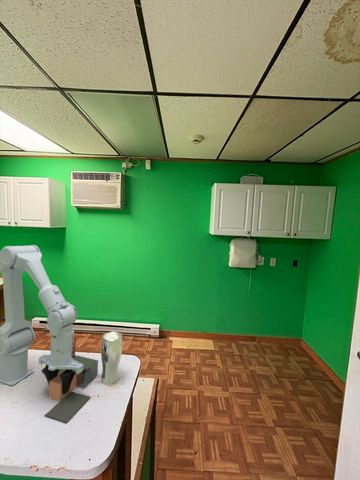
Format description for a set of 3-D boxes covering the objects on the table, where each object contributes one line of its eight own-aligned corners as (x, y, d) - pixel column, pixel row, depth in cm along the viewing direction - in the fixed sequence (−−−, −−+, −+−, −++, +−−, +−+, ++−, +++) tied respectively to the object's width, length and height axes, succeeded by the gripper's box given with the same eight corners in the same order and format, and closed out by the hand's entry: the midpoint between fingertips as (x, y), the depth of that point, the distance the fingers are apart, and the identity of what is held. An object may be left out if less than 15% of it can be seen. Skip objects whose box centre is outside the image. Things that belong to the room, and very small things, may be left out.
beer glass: (96, 384, 78) (98, 339, 77) (103, 371, 85) (105, 330, 84) (116, 386, 77) (119, 341, 77) (123, 373, 84) (125, 332, 84)
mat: (44, 416, 64) (44, 415, 64) (71, 392, 73) (71, 391, 73) (66, 423, 62) (66, 422, 62) (90, 397, 71) (90, 396, 71)
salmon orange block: (48, 397, 71) (49, 381, 70) (72, 377, 80) (73, 363, 80) (60, 400, 70) (60, 384, 69) (82, 380, 79) (83, 366, 79)
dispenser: (58, 381, 78) (59, 363, 78) (73, 369, 85) (73, 353, 85) (84, 388, 76) (85, 370, 75) (97, 375, 82) (98, 358, 82)
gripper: (30, 348, 69) (29, 393, 70) (72, 358, 66) (70, 405, 66) (49, 338, 76) (48, 378, 77) (88, 346, 72) (86, 389, 73)
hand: (59, 390), depth 72 cm, fingers closed on salmon orange block, 4 cm apart
